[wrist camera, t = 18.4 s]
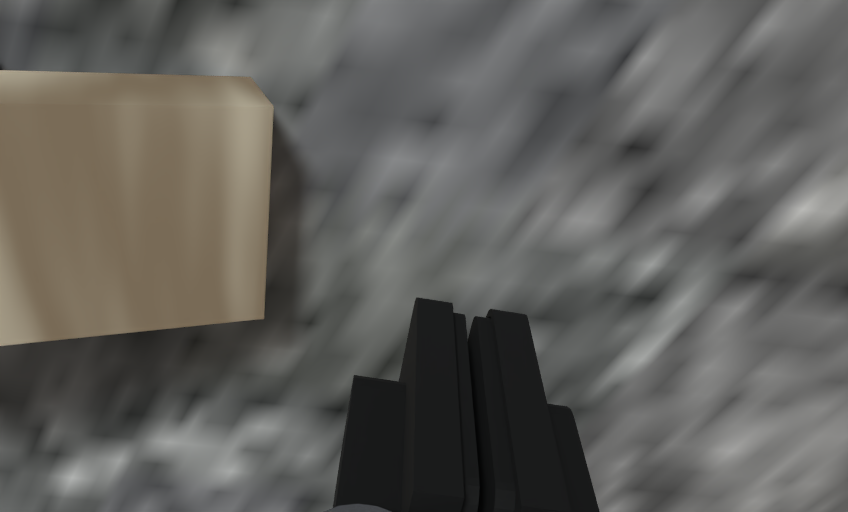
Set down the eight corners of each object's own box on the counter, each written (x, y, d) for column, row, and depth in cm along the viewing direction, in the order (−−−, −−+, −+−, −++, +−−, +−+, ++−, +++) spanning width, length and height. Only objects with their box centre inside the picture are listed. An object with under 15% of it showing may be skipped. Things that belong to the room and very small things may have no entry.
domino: (273, 107, 15) (-404, 98, 11) (264, 318, 17) (-303, 377, 13) (250, 76, 17) (-342, 60, 13) (244, 273, 19) (-262, 312, 15)
